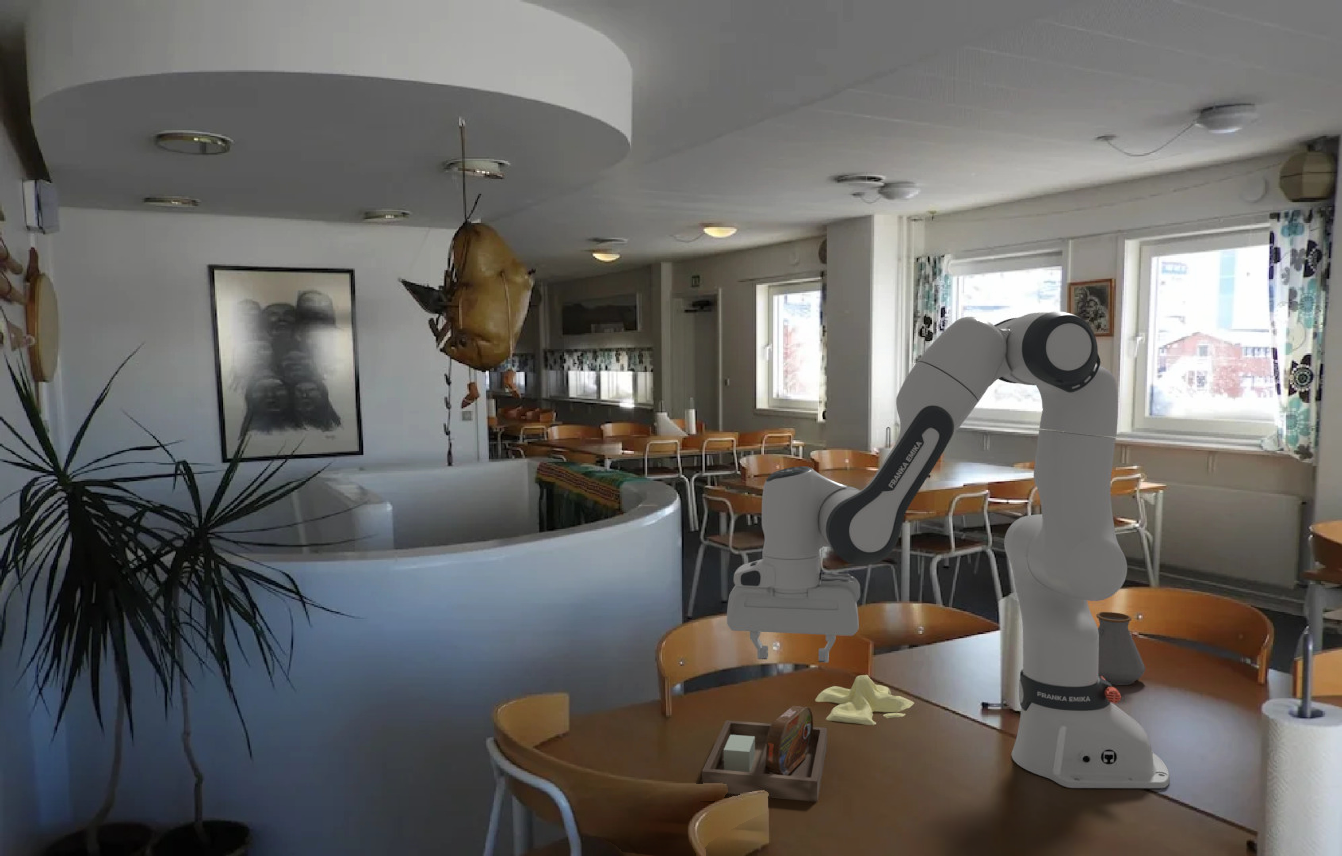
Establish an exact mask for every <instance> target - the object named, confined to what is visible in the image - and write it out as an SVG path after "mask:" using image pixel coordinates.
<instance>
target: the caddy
mask: <svg viewBox="0 0 1342 856" xmlns="http://www.w3.org/2000/svg"><path fill="white" fill-rule="evenodd" d="M771 724H772V723H766V722H753V721H741V720H740V721H739V720H738V721H737V720H729V719H728V720H727V719H726V720H725V721H724V723H723V726H722V729H721V730H720V732H719V735H718V736H717V738H716V741H715V743H714V745H713V748H712V749H711V751H710V754H709V756H708V758H707V760H706V762H705V764H704V766H703V769H702V771H701V774H702V775H701V776H702V777H701V779H702V783H723V784H727V786H728V793H727V794H729V795H730V794H732V795H739V794H740V793H743V792H752V791H756V790H765V791H767V792H768V793H769V797H768V798H771V799H772V798H774V799H781V800H782V799H784V800H791V801H792V800H794V801H804V802H806V801H807V802H813V803H814V802H815V803H817V802H818V801H819V795H820V791H821V790H820V788H821V783H822V776H823V771H824V765H825V760H826V754H827V750H828V749H827V748H828V728H827V727H820V726H819V727H818V726H813V733H812V740H811V745H810V748H809V751H808V754H807V756H806V758H805V759H804V760H803V761H802V762H801V763H800V764H799V765H798V766H797V767H796V768H795V769H794V770H793V771H792V772H791V773H790V774H789V775H788V776H786V775H780V774H775V773H772V772H770V771H769V770H768V769H767V767H766V740H767V735H768V731H769V729H770V726H771ZM730 735H742V736H755V760H754V762H753V765H752V768H751V771H750V772H740V771H729V770H724V748H725V746H726V744H727V741H728V739H729V737H730ZM702 783H701V784H702Z"/></svg>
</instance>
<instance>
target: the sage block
mask: <svg viewBox="0 0 1342 856" xmlns="http://www.w3.org/2000/svg"><path fill="white" fill-rule="evenodd" d="M754 760H755V736H742V735H730V737H729V739H728V741H727V744H726V746H725V748H724V770H729V771H740V772H750V771H751V768H752V765H753V762H754Z"/></svg>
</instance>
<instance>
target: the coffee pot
mask: <svg viewBox="0 0 1342 856" xmlns="http://www.w3.org/2000/svg"><path fill="white" fill-rule="evenodd" d="M1095 615H1096V616H1095V617H1096V618H1097V619H1098V621H1099V625H1098V626H1097V628H1098V632H1099V663H1098V676H1099V677H1101V676H1102V677H1103V678H1104V679H1105V680H1106V681H1108V682H1109V683H1110V684H1111V685H1112V686H1113V685H1114V686H1128V685H1132V684H1134V683H1135V682H1134V681H1138V680H1139V679H1140V678H1141V677H1143V675H1144V674H1145V671H1146V667H1145V664H1144V662H1143V659H1142V656H1141V654H1140V652H1139V650H1138V648H1137V646H1136V643H1135V641H1134V639H1133V636H1132V634H1131V631H1130V629H1129V624H1130V622H1131V621H1132V619H1133V618H1132V617H1131V615H1128V614H1126V613H1125V614H1124V613H1122V612H1121V613H1120V612H1112V611H1111V612H1110V611H1101V612H1098V613H1096V614H1095Z"/></svg>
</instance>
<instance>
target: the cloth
mask: <svg viewBox="0 0 1342 856" xmlns="http://www.w3.org/2000/svg"><path fill="white" fill-rule="evenodd" d="M815 702H818V703H819V702H820V703H821V702H823V703H824V702H827V703H834V704H838V705H836V706H835V707H833V708H832V709H831V711H830V713H829V714H828V715H827V717H825V720H826V721H829V722H832V721H833V722H839V723H846V724H847V723H848V724H857V725H863V726H864V725H865V726H874V725H877V722H876V721H874V720H873V716H874V714H873V713H874V712H880V713H881V712H882V713H883V717H885V718H886V719H892V718H900V717H901V718H902V717H905V715H906V713H900V712H902V711H904V710H906V709H909V708H911V707H912V706H913V705H914V704H915V702H914V701H913V700H910V699H908V698H905V697H903V696H901V695H892V692H891V689H890V688H889V687H888V686H884V685H883V684H882V685H881V684H875V682H874V681H873V680H872V679H871V678H870V676H869V675H868V674H865V675H863V674H862V675H858V676H856V677H855V679H854V682H853V683H852V686H851V688H845V687H842V686H836V685H833V686H831V687H828V688H824V689H823V690H822V691H821V692H820V693H818V695H817V696H816V698H815ZM898 712H899V713H898ZM884 713H885V714H884Z"/></svg>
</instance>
